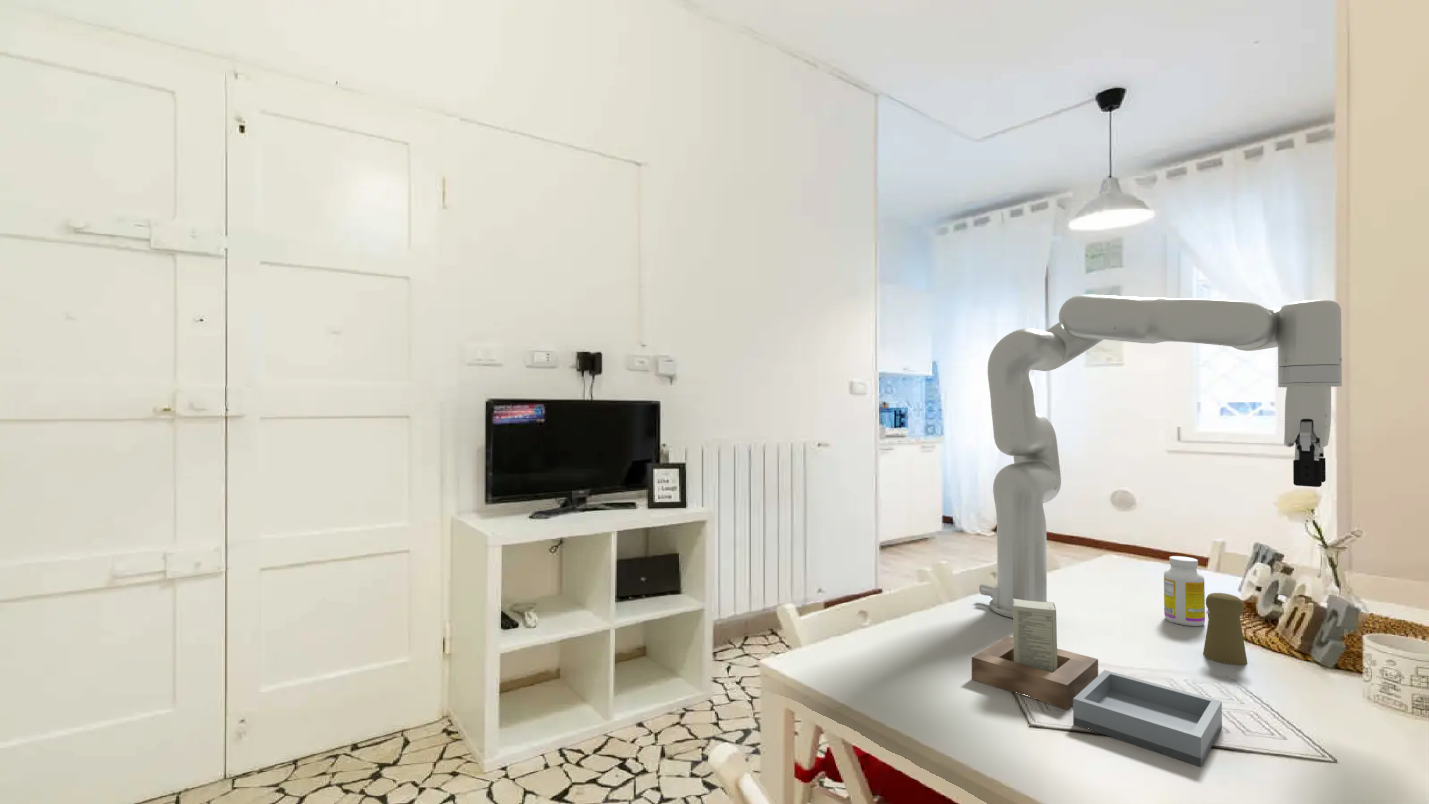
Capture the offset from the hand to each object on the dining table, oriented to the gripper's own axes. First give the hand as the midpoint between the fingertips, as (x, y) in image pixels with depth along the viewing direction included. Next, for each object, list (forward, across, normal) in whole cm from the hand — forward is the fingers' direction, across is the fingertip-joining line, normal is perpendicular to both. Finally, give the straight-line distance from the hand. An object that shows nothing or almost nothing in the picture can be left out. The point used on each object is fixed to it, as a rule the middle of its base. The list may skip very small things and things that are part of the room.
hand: (1309, 483), depth 102 cm
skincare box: (+31, +34, -30) cm, 55 cm away
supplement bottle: (+31, -18, -20) cm, 41 cm away
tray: (+31, +38, -14) cm, 51 cm away
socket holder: (+31, +34, -30) cm, 55 cm away
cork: (+31, 0, -11) cm, 33 cm away
